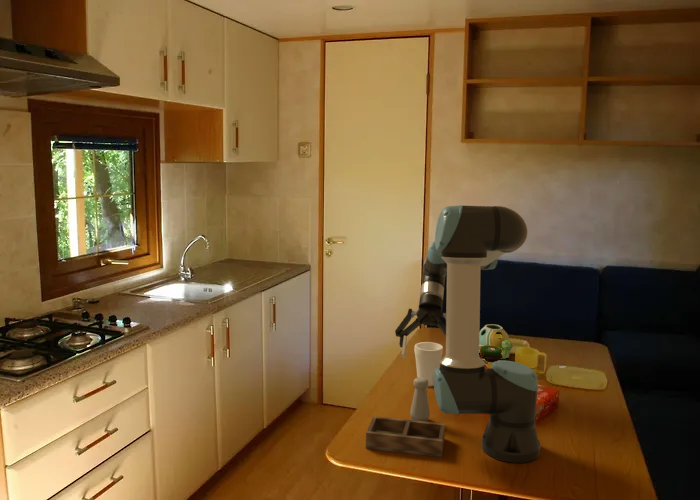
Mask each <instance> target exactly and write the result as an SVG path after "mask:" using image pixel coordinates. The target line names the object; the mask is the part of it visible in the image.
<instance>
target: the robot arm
mask: <svg viewBox="0 0 700 500" xmlns="http://www.w3.org/2000/svg"><path fill="white" fill-rule="evenodd" d="M434 232H435V233H434V241H432V242H431V244H430V245H429V247H428V250H427V252H426V258H424V260H423V261H424V262H423V266H422V278H421V285H420V293H419V302H418V309H417V310H413V309H412V308H409V309H407V313H406V316H405V317H404V318H403V320H402V321H401V322H400V323H399V325H398V326H397V327H396V329H395V330H394V331H395V333H394V334H395V337H396V338H397V337H399V343H398V344H399V347H400V348H401V359H405V358H406V350H407V349H406V348H407V343H408V336H409V335H410V334H411V333H413V332H414V331H415V330H416V329H418V327H421V326H422V325H424V326H432V327H434V326H436V327H437V328H438V329H439V330H440V331H441V332H442V333H443V334H444V335H445V355H444V356H442V357H441V360H440V368H436V369H434V371H433V382H434V386H433V389H434V395H435V399H436V403H437V406H438V408H439V410H440V411H441V412H442V413H443V414H446V415H447V414H448V415H450V414H451V415H457V416H460V415H489V419H488V422H487V424H486V427H485V429H484V432H483V434H482V437H481V448H482V450H483V452H484V453H485V454H486V455H488V456H490V457H492V458H494V459H497V460H499V461H502V462H507V463H512V464H513V463H514V464H522V463H531V462H533V461H535V460H537V459H538V458H539V457H540V455H541V442H540V440H539V438H538V437H539V436H538V433H537V431H538V430H537V428H536V413H537V412H536V411H537V400H538V391H539V387H538V375H537V373H536V371H535V370H534V369H533V368H531V367H530V366H528V365H526V364H523V363H520V362H516V361H511V360H506V359H502V360H497V361H495V360H494V362H493V363H492V364H491V367H490V368H486V362H485V360H483V359H482V357H480V355H479V332H480V331H481V329H480V328H481V327H480V326H481V325H480V324H481V322H480V321H481V320H480V319H481V313H480V311H481V270H482V271H488V270H494V269H495V268H496V267H497V265H498V259H499V258H500V257H502V256H503V255H504V254H507V253H508V254H509V253H513V252H515V251H517V250H519V249H520V248H521V247H522V246H523V245H524V243H525V242H526V241H527V239H528V238H527V237H528V226H527V224H526V222H525V220H524V218H523V217H522V216H521V215H520V214H519V213H518V212H516V211H515V210H513V209H511V208H509V207H506V206H501V205H494V206H493V205H491V206H490V205H449V206H448V205H447V206H445V207H444V208H442V209H441V211H440V213H439V215H438V218H437V221H436V227H435V231H434ZM445 281H446V307H445V308H446V311H445V312H443V306H444V305H443V302H444V293H445V292H444V291H445ZM415 316H416V318H415V320H414V321H412V322H411V320H412V318H414V317H415ZM443 318H444V319H445V324H444V323H443V321H442V319H443ZM410 322H411V323H410ZM409 323H410V324H409Z"/></svg>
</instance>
